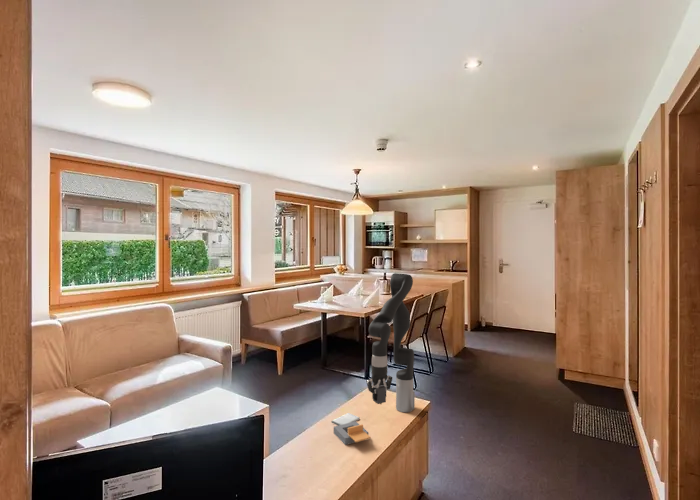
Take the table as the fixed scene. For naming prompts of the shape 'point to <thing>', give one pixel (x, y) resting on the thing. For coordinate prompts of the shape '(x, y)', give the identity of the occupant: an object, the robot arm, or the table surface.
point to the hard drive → (345, 419)
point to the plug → (381, 395)
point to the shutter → (358, 433)
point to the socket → (345, 432)
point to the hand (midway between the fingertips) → (379, 399)
